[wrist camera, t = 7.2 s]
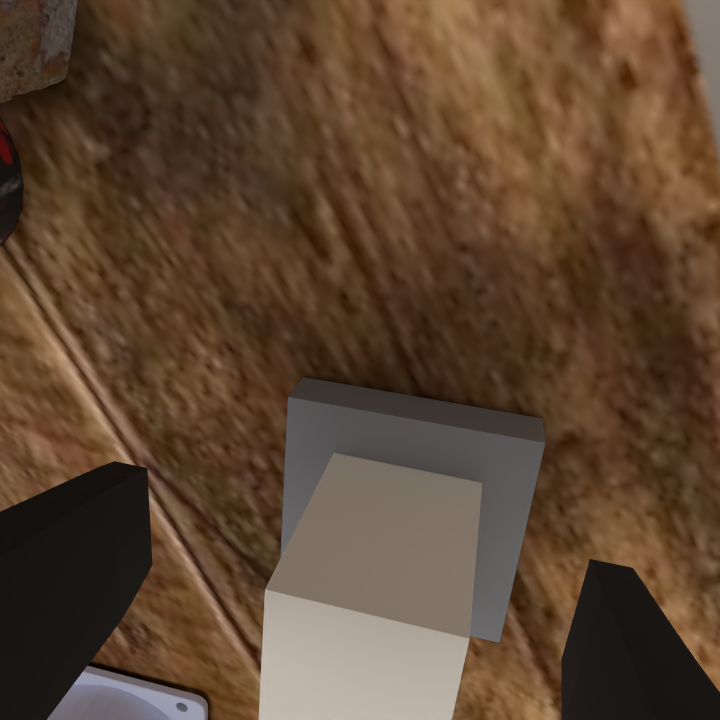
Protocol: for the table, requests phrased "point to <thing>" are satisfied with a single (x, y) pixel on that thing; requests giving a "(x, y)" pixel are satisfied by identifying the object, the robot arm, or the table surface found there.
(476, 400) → the table surface
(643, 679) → the robot arm
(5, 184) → the deodorant
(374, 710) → the cream block
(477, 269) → the table surface
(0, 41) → the geological specimen
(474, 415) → the slate base
